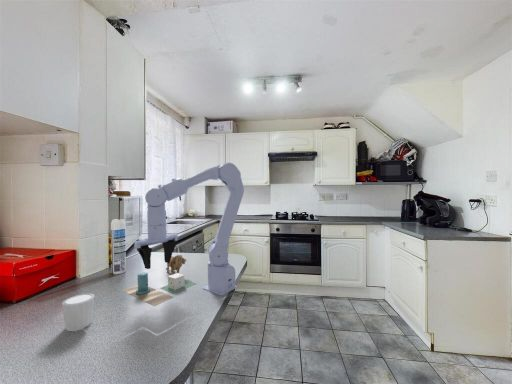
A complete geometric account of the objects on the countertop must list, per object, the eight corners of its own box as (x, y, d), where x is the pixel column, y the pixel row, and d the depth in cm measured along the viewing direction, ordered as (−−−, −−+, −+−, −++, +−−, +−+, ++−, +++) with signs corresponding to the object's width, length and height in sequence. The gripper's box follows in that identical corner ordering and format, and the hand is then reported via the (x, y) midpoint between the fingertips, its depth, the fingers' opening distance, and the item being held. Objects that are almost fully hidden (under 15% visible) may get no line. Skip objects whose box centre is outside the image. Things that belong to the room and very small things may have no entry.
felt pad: (197, 284, 88) (197, 283, 88) (173, 294, 80) (173, 293, 80) (183, 279, 93) (183, 279, 93) (159, 288, 84) (159, 288, 84)
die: (184, 286, 86) (184, 274, 86) (175, 290, 82) (174, 278, 82) (177, 283, 88) (177, 272, 88) (167, 287, 85) (167, 276, 85)
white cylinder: (90, 315, 67) (89, 290, 67) (99, 323, 63) (98, 297, 63) (59, 326, 62) (58, 299, 62) (66, 336, 58) (65, 307, 57)
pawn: (152, 291, 82) (152, 273, 82) (140, 295, 78) (139, 277, 78) (145, 288, 85) (145, 271, 85) (133, 292, 81) (133, 275, 81)
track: (174, 298, 77) (174, 297, 77) (154, 306, 71) (154, 305, 71) (141, 284, 89) (141, 283, 89) (121, 291, 83) (121, 290, 83)
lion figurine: (188, 276, 96) (187, 254, 96) (175, 280, 92) (175, 257, 92) (171, 268, 106) (171, 248, 106) (159, 271, 103) (159, 250, 103)
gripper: (168, 221, 88) (169, 258, 88) (128, 226, 76) (129, 269, 76) (180, 222, 83) (181, 261, 84) (140, 228, 72) (141, 273, 72)
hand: (157, 265), depth 80 cm, fingers open, 7 cm apart
